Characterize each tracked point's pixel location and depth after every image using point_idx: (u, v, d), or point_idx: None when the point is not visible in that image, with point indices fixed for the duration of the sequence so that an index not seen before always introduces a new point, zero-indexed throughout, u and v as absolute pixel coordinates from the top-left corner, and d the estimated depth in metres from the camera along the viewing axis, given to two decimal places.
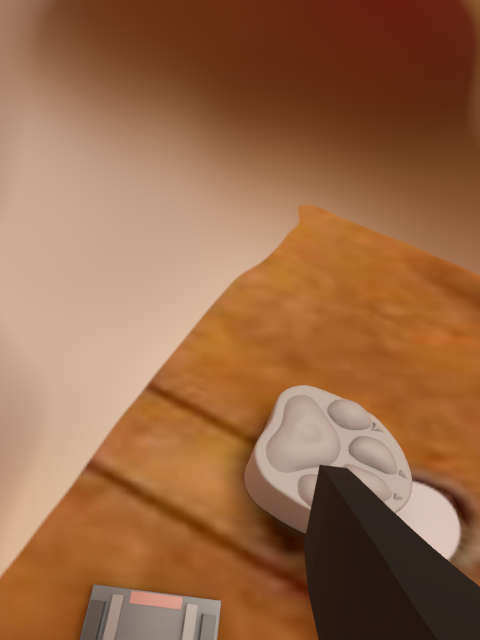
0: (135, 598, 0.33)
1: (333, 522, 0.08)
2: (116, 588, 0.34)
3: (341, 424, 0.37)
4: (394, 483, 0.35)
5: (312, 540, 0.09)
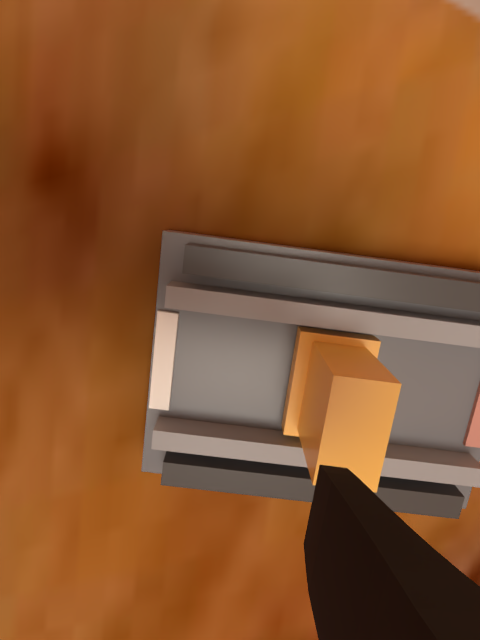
0: None
1: (333, 522, 0.08)
2: None
3: None
4: None
5: (312, 540, 0.09)
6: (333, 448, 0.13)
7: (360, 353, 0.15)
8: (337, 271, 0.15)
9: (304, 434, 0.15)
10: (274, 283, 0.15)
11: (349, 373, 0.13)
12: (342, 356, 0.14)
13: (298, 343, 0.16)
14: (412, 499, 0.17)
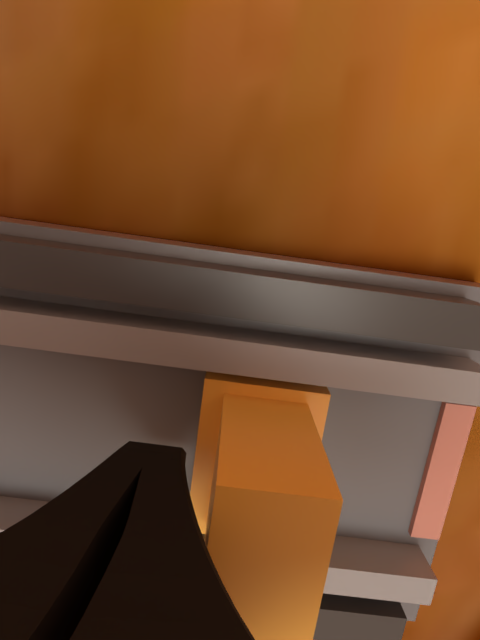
0: (455, 419, 0.11)
1: None
2: None
3: None
4: None
5: None
6: None
7: (293, 418, 0.09)
8: (189, 277, 0.09)
9: None
10: (88, 295, 0.09)
11: (250, 476, 0.07)
12: (257, 428, 0.09)
13: (202, 396, 0.10)
14: (327, 622, 0.11)
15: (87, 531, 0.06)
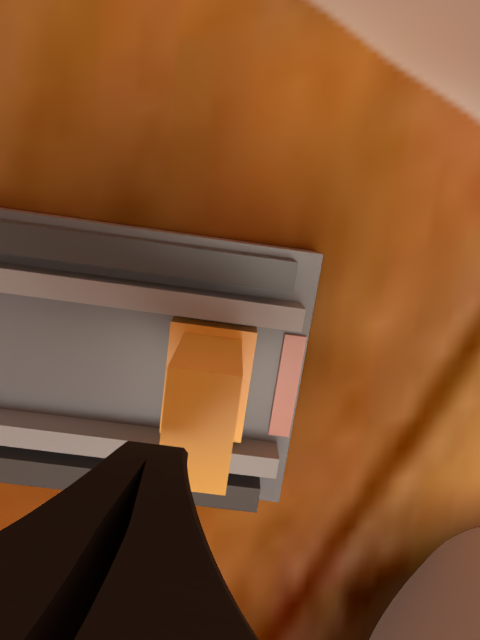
0: (292, 346, 0.16)
1: None
2: (312, 304, 0.16)
3: None
4: None
5: None
6: None
7: (227, 345, 0.14)
8: (93, 241, 0.14)
9: None
10: (25, 254, 0.14)
11: (189, 365, 0.12)
12: (201, 348, 0.13)
13: (169, 334, 0.15)
14: None
15: (84, 531, 0.06)
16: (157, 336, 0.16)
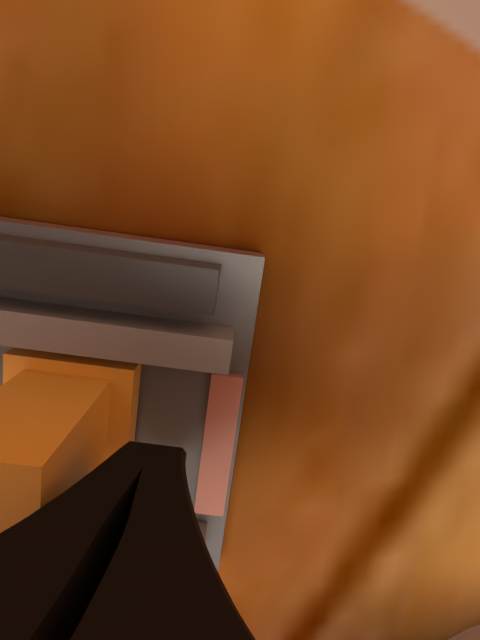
0: (222, 391, 0.11)
1: None
2: (251, 329, 0.11)
3: None
4: None
5: None
6: None
7: (77, 392, 0.09)
8: None
9: None
10: None
11: None
12: (23, 400, 0.08)
13: (5, 372, 0.10)
14: None
15: (87, 531, 0.06)
16: None
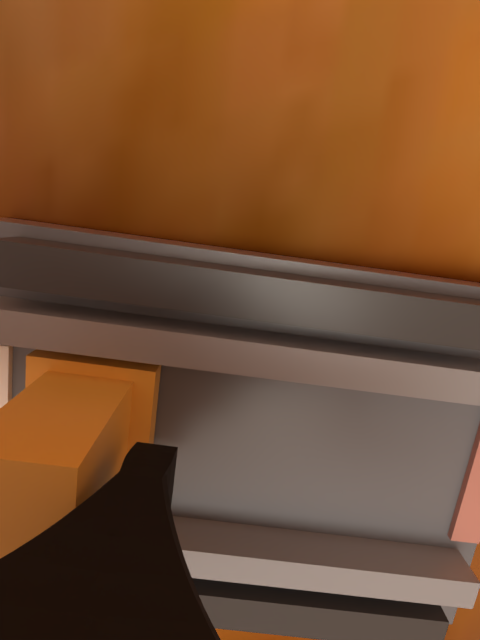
0: None
1: None
2: None
3: None
4: None
5: None
6: None
7: (101, 394, 0.09)
8: (242, 284, 0.09)
9: None
10: (141, 302, 0.09)
11: None
12: (50, 402, 0.09)
13: (28, 374, 0.10)
14: (370, 626, 0.11)
15: (120, 535, 0.06)
16: (306, 409, 0.11)
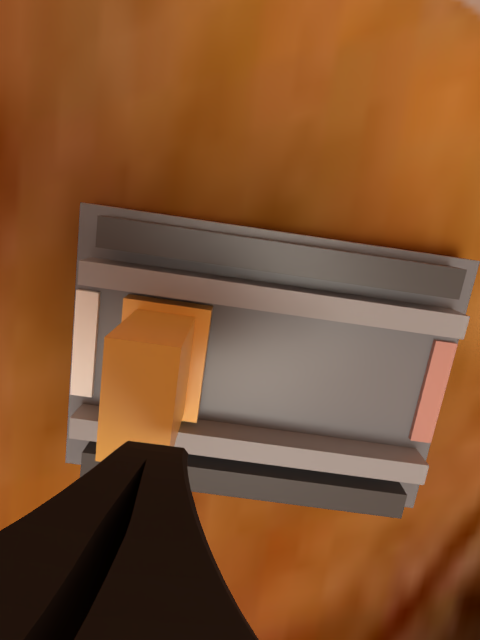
0: (442, 353, 0.16)
1: None
2: (464, 310, 0.16)
3: None
4: None
5: None
6: (113, 420, 0.12)
7: (178, 321, 0.14)
8: (263, 247, 0.14)
9: None
10: (195, 259, 0.14)
11: (128, 336, 0.12)
12: (149, 322, 0.13)
13: (123, 311, 0.15)
14: (351, 497, 0.16)
15: (84, 531, 0.06)
16: (306, 341, 0.16)
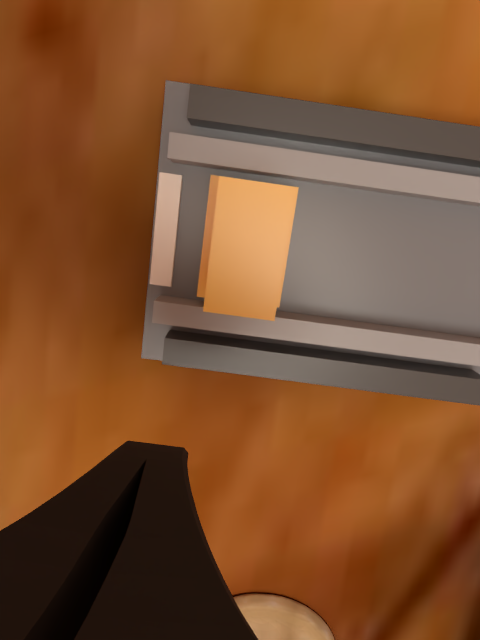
0: None
1: None
2: None
3: None
4: None
5: None
6: (223, 266, 0.12)
7: None
8: (355, 116, 0.14)
9: None
10: (287, 129, 0.14)
11: (240, 180, 0.11)
12: None
13: (209, 190, 0.15)
14: (433, 383, 0.16)
15: (84, 531, 0.06)
16: (387, 226, 0.16)
